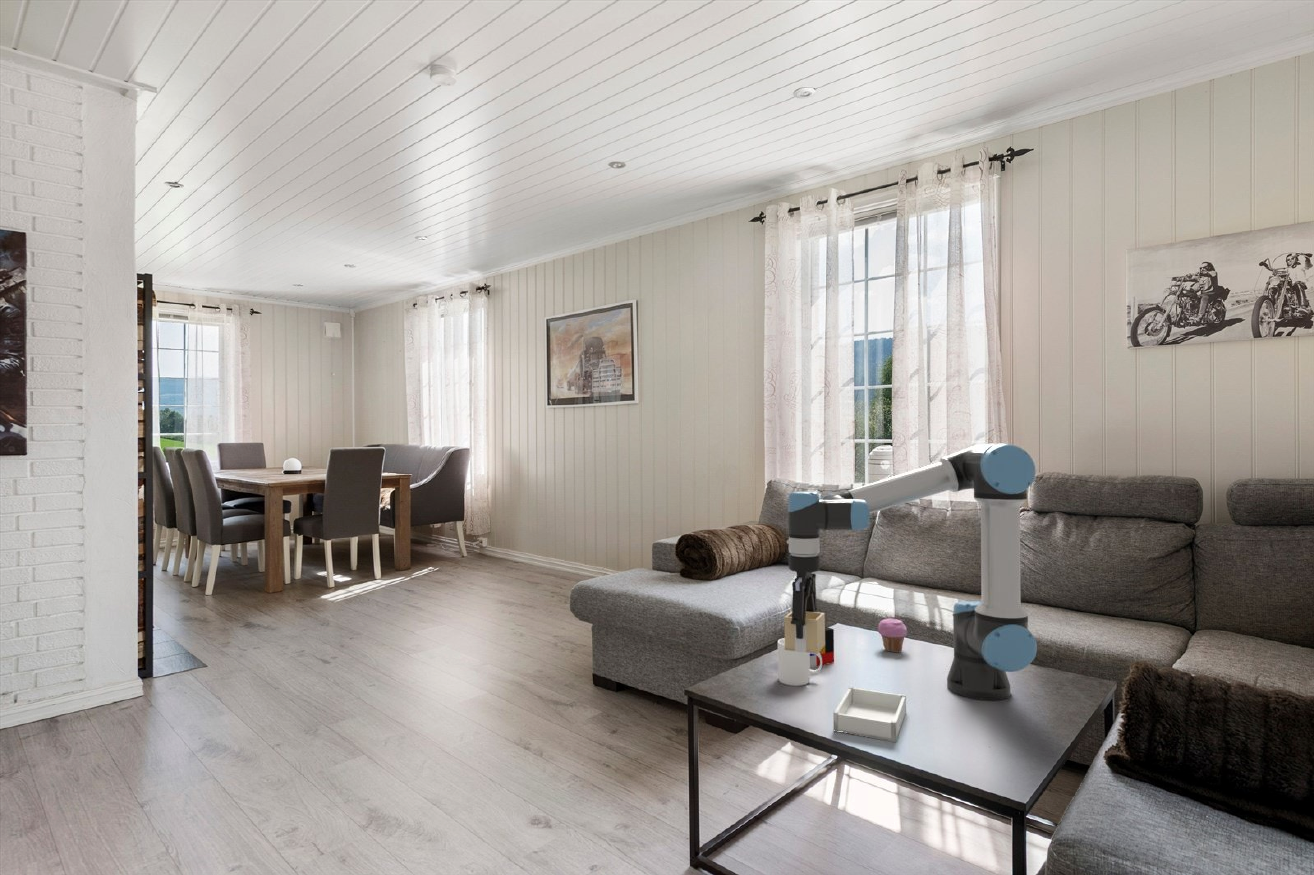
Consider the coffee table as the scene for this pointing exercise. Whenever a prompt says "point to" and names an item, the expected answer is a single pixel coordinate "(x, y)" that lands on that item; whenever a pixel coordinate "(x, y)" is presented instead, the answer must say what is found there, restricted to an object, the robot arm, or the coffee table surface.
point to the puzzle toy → (825, 650)
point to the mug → (794, 666)
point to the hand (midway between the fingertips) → (805, 646)
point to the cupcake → (892, 634)
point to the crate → (870, 714)
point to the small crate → (807, 632)
